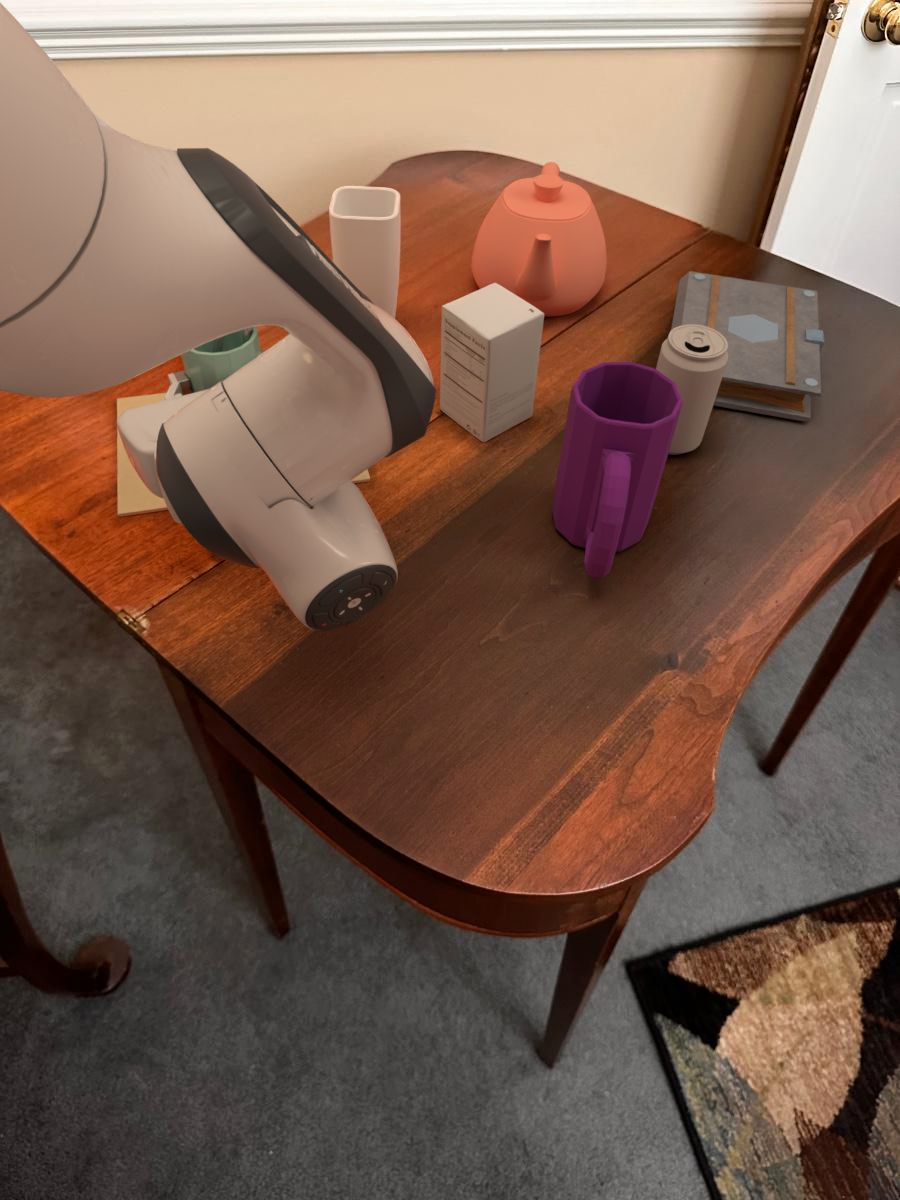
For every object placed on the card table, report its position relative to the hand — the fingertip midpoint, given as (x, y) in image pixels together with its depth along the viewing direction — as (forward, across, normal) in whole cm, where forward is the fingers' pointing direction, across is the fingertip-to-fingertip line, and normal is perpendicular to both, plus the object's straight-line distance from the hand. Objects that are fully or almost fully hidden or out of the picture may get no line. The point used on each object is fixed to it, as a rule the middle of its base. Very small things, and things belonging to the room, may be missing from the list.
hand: (222, 367), depth 75 cm
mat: (+6, -1, +13) cm, 14 cm away
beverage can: (-12, -42, +13) cm, 46 cm away
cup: (+20, -22, +13) cm, 32 cm away
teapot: (+19, -44, +13) cm, 50 cm away
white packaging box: (-1, -27, +13) cm, 30 cm away
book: (-4, -58, +13) cm, 60 cm away
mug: (-22, -27, +13) cm, 37 cm away
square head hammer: (-1, +1, +1) cm, 2 cm away
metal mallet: (-1, -1, +1) cm, 2 cm away
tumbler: (-1, 0, +5) cm, 5 cm away
